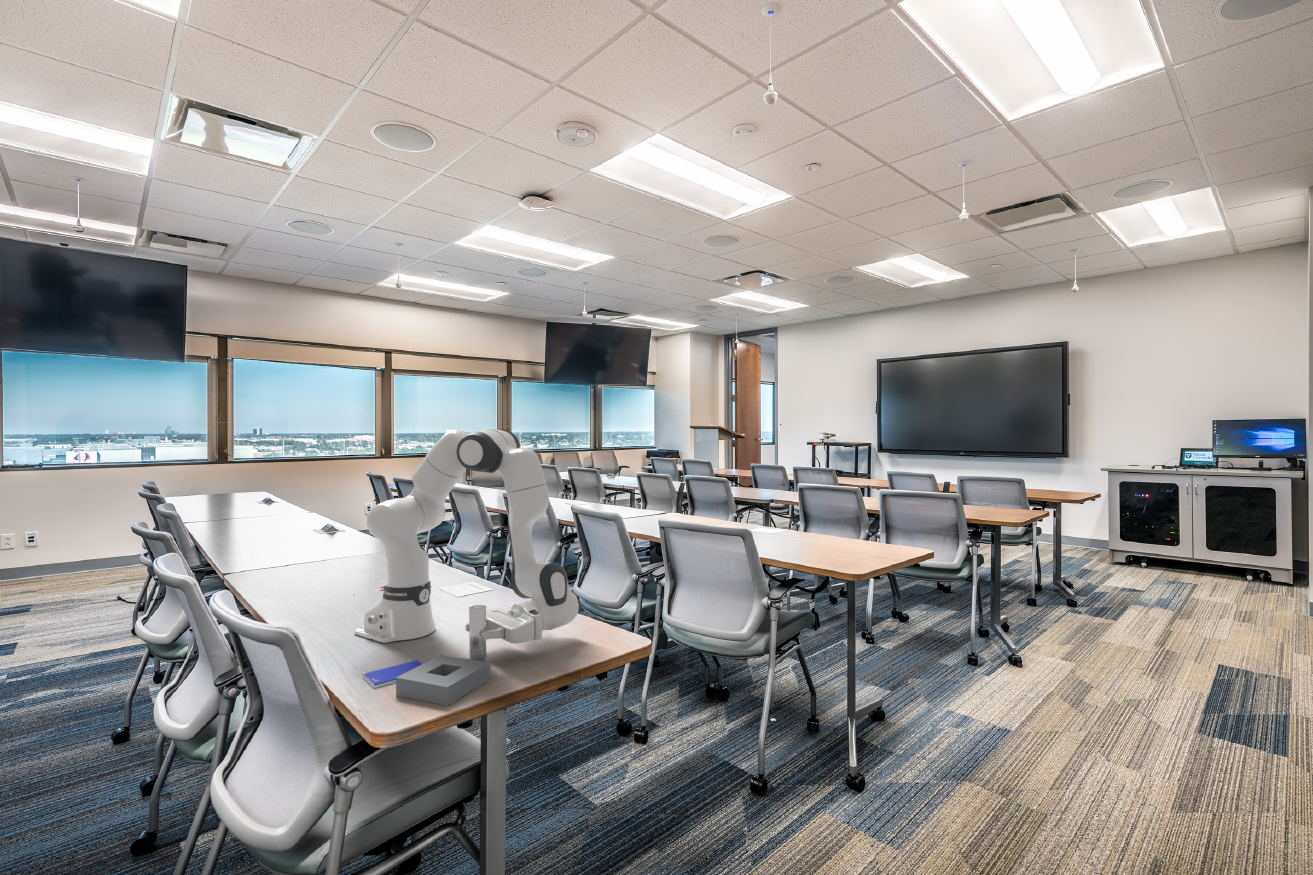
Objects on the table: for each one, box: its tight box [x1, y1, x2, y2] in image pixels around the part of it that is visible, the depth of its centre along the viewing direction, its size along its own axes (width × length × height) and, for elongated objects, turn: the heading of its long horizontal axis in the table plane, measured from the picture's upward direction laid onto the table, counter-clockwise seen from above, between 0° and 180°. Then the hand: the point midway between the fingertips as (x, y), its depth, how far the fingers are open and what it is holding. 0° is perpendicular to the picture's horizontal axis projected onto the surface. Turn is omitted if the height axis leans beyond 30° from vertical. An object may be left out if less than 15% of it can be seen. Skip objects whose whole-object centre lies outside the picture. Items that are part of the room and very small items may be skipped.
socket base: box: [395, 654, 491, 707], centre depth 130 cm, size 14×14×4 cm
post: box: [468, 604, 488, 662], centre depth 144 cm, size 4×4×14 cm
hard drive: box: [362, 659, 423, 689], centre depth 137 cm, size 2×8×12 cm
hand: (474, 632), depth 143 cm, fingers open, 7 cm apart
